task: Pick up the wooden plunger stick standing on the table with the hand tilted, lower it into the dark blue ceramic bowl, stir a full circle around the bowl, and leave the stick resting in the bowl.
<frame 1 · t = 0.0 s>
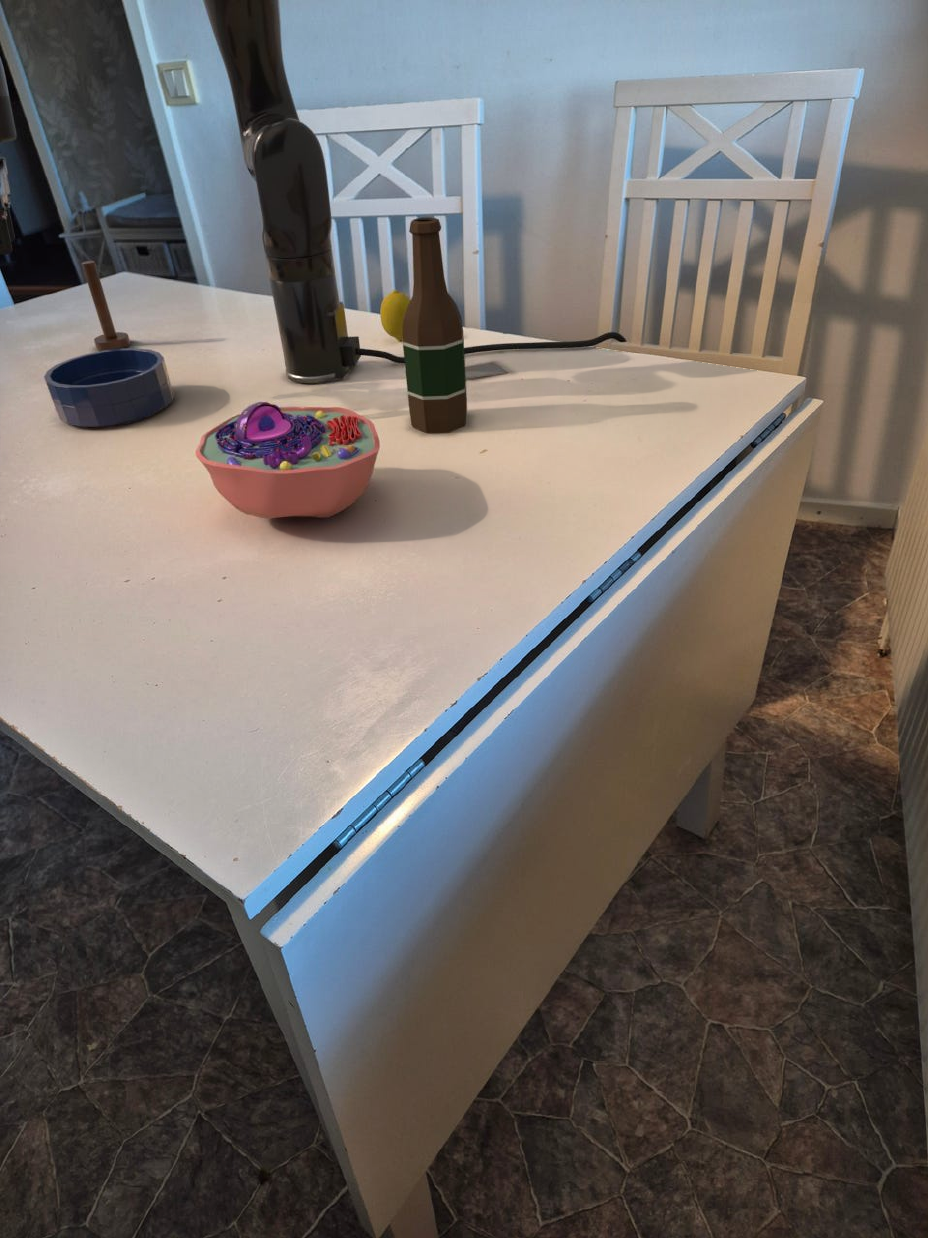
hand: (4, 247, 99), 22 cm above the table, tool pointing down, fingers open, 8 cm apart
cell model: (303, 509, 88), on the table
blue round bowl: (118, 408, 115), on the table
cleaver: (461, 377, 118), on the table
beer bottle: (439, 423, 105), on the table
wooden plunger stick: (113, 346, 139), on the table
lemon: (400, 341, 133), on the table
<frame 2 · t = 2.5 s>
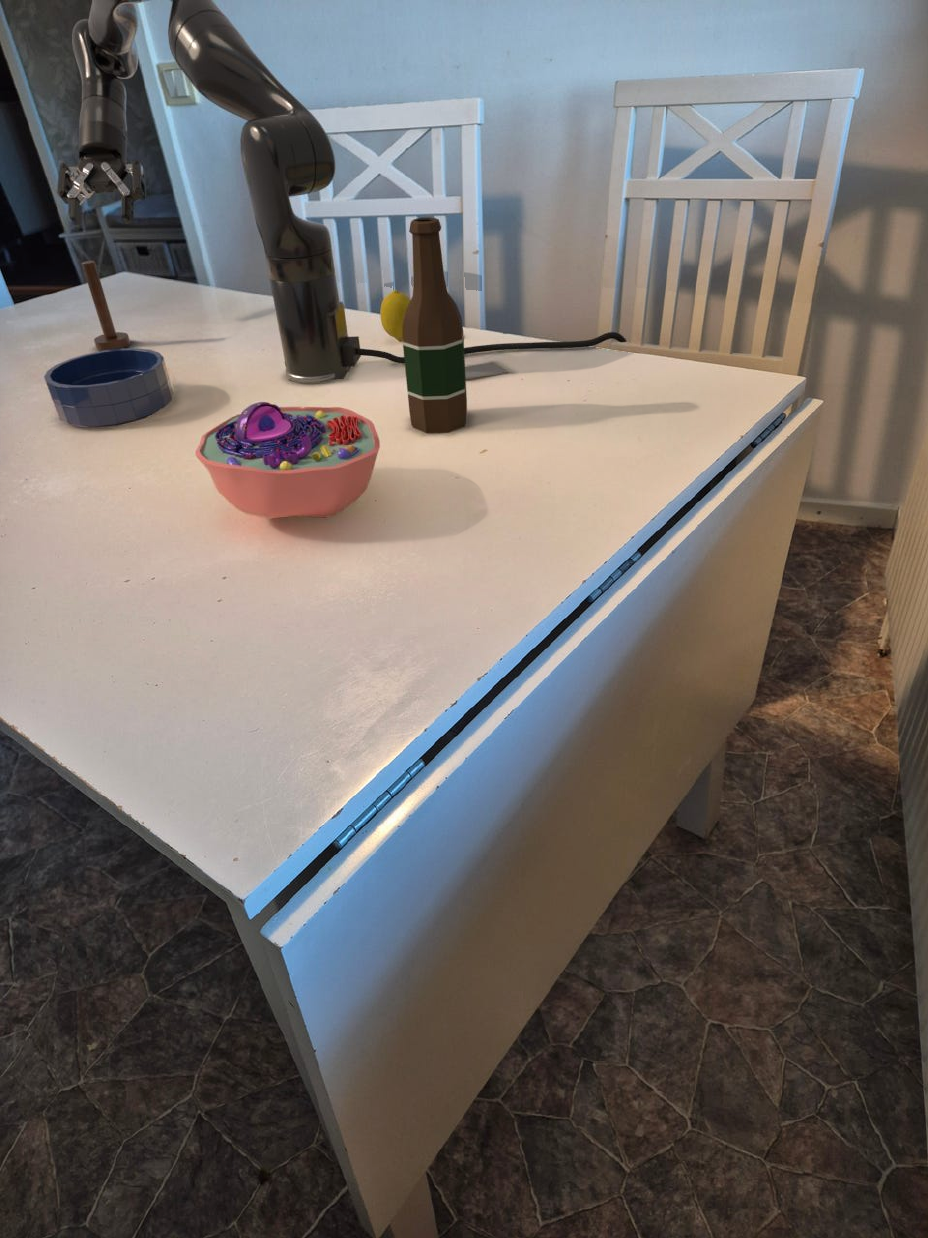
hand: (101, 221, 137), 18 cm above the table, tool tilted 45°, fingers open, 8 cm apart
nothing on the table moved.
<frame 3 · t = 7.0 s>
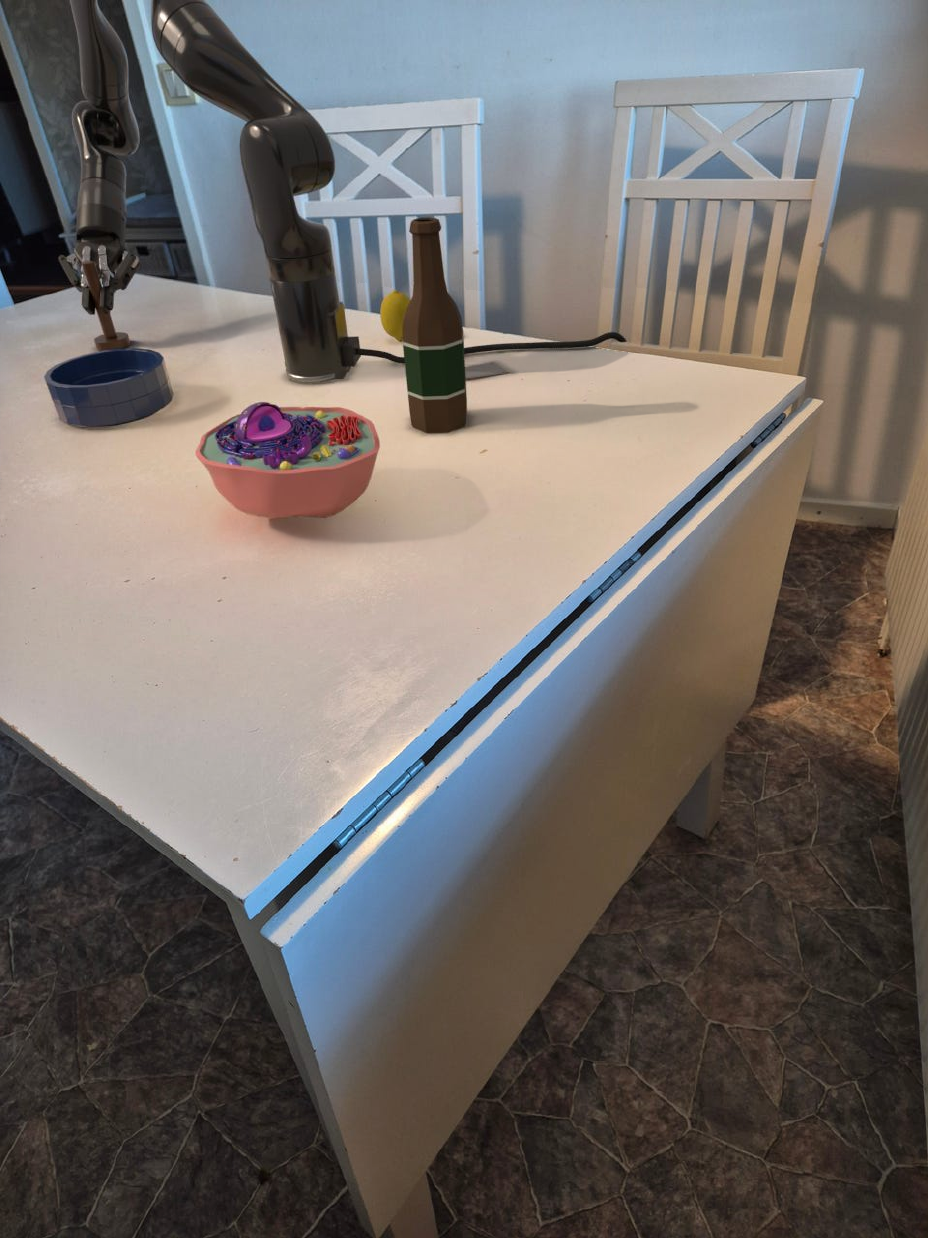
hand: (97, 311, 134), 6 cm above the table, tool tilted 45°, fingers closed on wooden plunger stick
wooden plunger stick: (113, 346, 139), on the table, touching gripper
everything else where it was.
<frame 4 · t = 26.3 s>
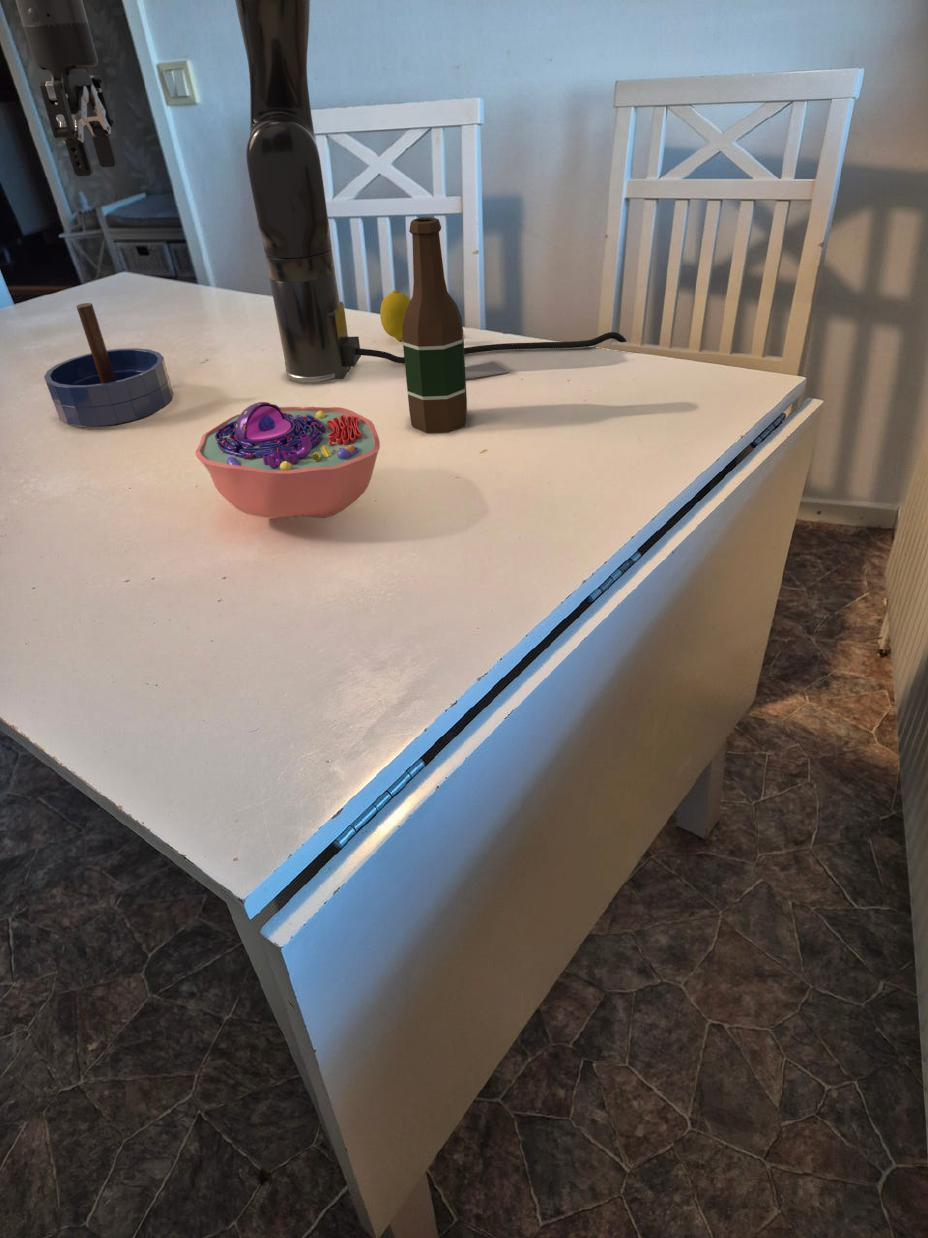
hand: (97, 170, 109), 28 cm above the table, tool pointing down, fingers open, 8 cm apart
wooden plunger stick: (115, 404, 115), point 1 cm above the table, touching blue round bowl
everything else where it was.
at the end: wooden plunger stick inside the target area in the blue round bowl (0.2 cm from its centre), point 0.6 cm above the blue round bowl's base; wooden plunger stick moved 31.2 cm from its start; the gripper is holding nothing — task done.
